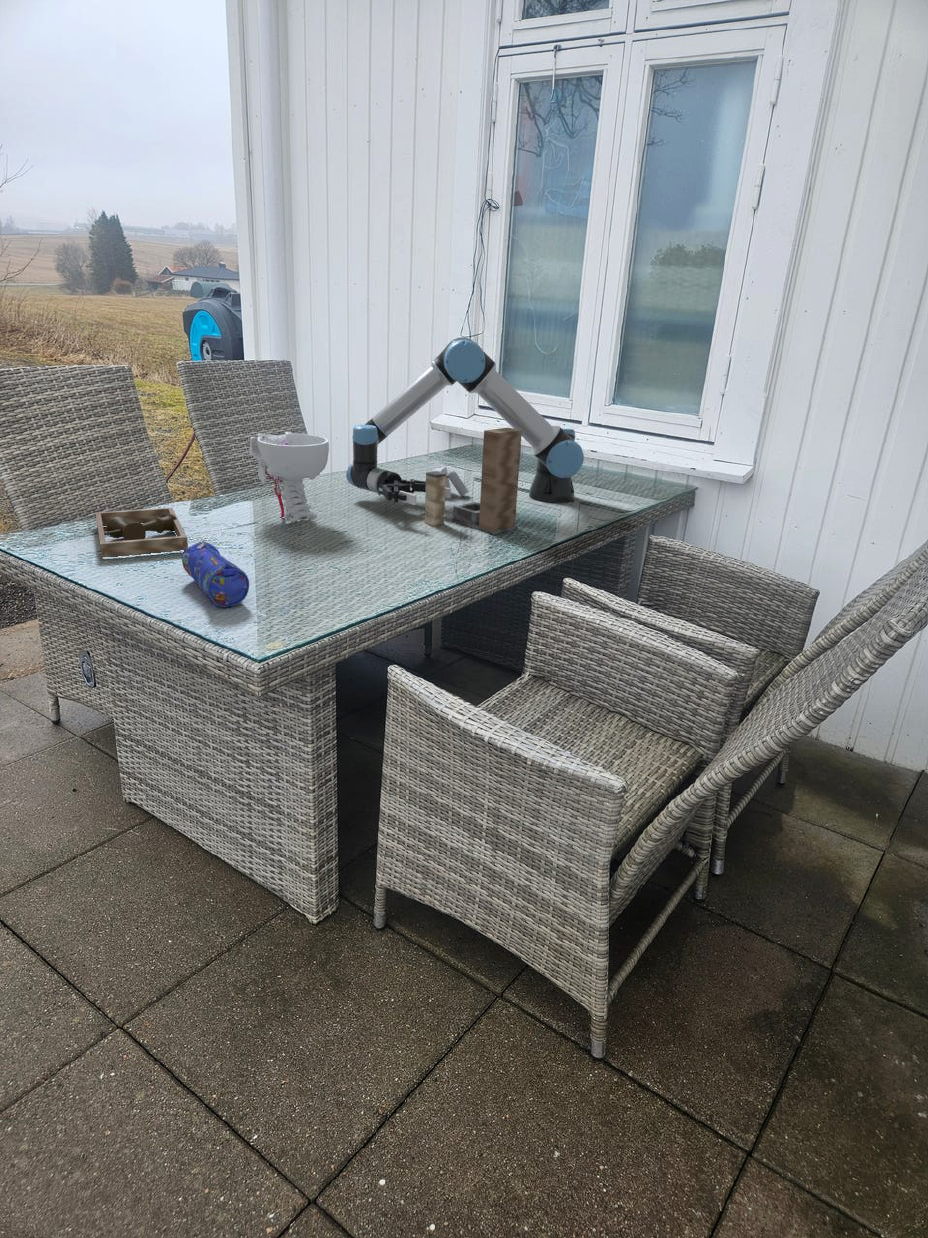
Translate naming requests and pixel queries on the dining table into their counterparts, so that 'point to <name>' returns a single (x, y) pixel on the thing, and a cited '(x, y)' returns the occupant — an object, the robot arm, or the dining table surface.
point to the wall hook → (453, 480)
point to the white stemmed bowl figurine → (290, 467)
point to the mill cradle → (143, 544)
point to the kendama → (138, 527)
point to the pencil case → (215, 574)
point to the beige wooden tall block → (435, 498)
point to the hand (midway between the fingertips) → (433, 496)
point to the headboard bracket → (495, 484)
